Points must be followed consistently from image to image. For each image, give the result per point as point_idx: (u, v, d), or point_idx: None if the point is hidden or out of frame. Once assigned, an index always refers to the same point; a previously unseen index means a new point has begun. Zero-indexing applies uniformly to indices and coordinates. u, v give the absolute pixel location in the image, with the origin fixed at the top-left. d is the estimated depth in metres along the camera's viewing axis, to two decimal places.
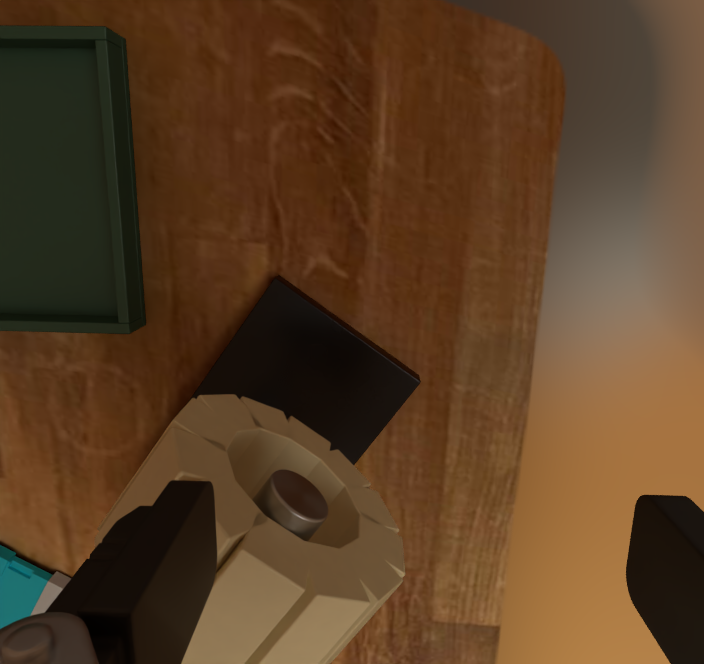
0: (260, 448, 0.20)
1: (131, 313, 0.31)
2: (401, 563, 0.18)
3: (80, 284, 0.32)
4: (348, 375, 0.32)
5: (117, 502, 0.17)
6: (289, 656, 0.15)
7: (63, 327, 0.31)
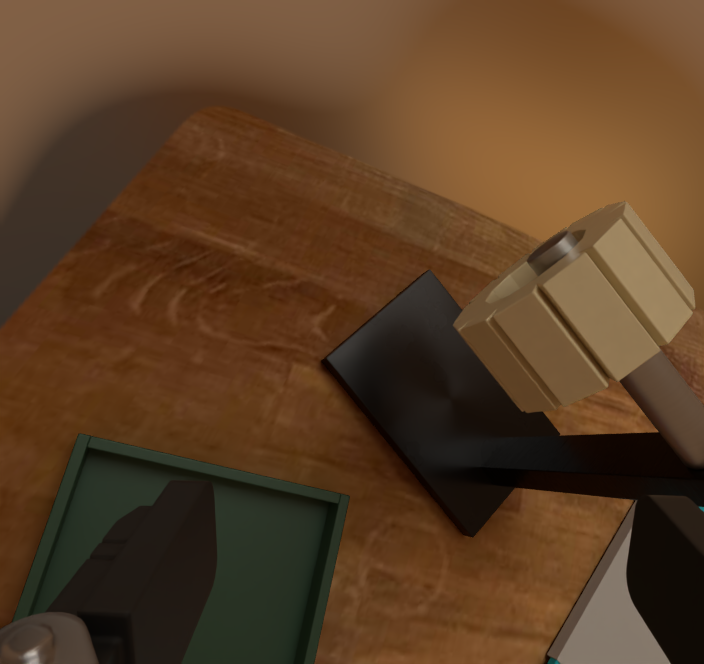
0: None
1: None
2: (594, 212, 0.25)
3: (290, 544, 0.33)
4: (415, 322, 0.38)
5: (538, 384, 0.22)
6: (659, 254, 0.21)
7: (331, 559, 0.32)
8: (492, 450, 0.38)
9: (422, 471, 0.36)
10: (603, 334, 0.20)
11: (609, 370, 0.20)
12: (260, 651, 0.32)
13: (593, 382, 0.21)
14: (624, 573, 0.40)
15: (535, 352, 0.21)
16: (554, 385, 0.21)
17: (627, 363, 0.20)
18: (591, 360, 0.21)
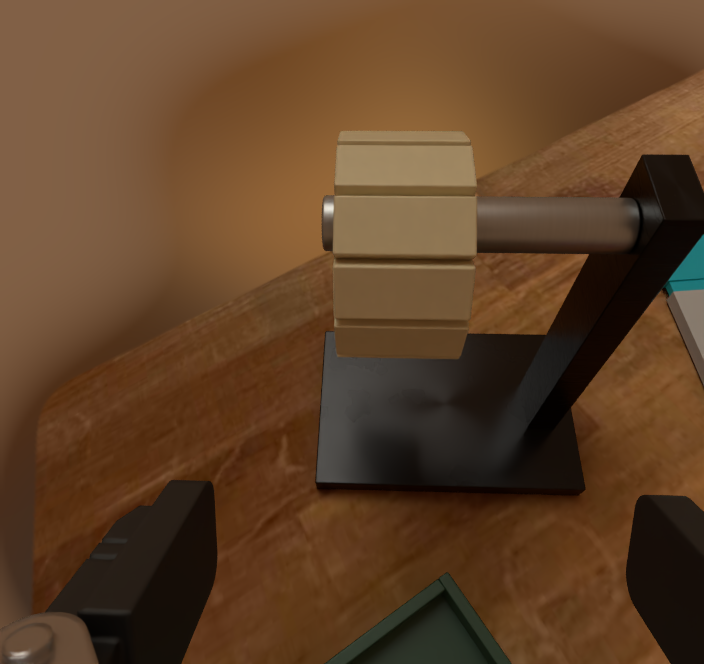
0: None
1: (429, 585, 0.28)
2: None
3: None
4: (355, 379, 0.35)
5: (432, 326, 0.19)
6: (402, 136, 0.20)
7: (491, 644, 0.26)
8: (521, 405, 0.34)
9: (486, 483, 0.31)
10: (421, 235, 0.18)
11: (459, 254, 0.18)
12: None
13: (461, 277, 0.18)
14: None
15: (395, 306, 0.18)
16: (441, 313, 0.18)
17: (465, 234, 0.18)
18: (439, 263, 0.18)
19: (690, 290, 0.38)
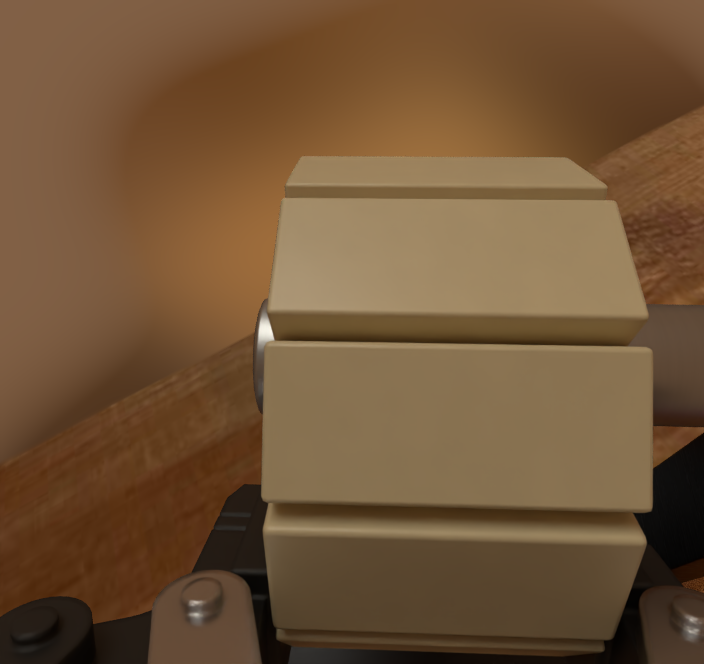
0: None
1: None
2: None
3: None
4: None
5: (514, 643, 0.08)
6: (437, 172, 0.08)
7: None
8: None
9: None
10: (500, 454, 0.06)
11: (606, 507, 0.06)
12: None
13: (606, 560, 0.07)
14: None
15: (426, 613, 0.07)
16: (542, 626, 0.07)
17: (622, 452, 0.06)
18: (546, 517, 0.07)
19: None
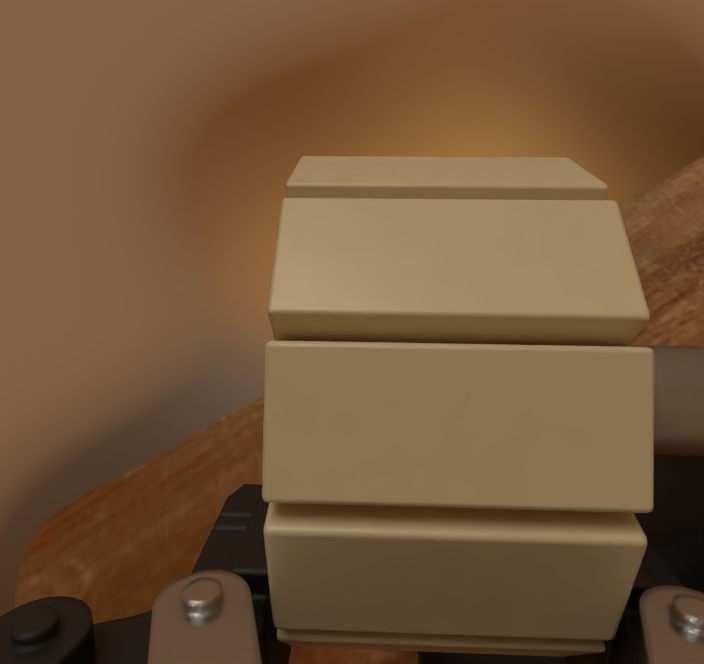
0: None
1: None
2: None
3: None
4: None
5: (515, 644, 0.08)
6: (438, 171, 0.08)
7: None
8: None
9: None
10: (501, 454, 0.06)
11: (606, 508, 0.06)
12: None
13: (606, 561, 0.07)
14: None
15: (427, 613, 0.07)
16: (543, 626, 0.07)
17: (623, 452, 0.06)
18: (547, 517, 0.07)
19: None
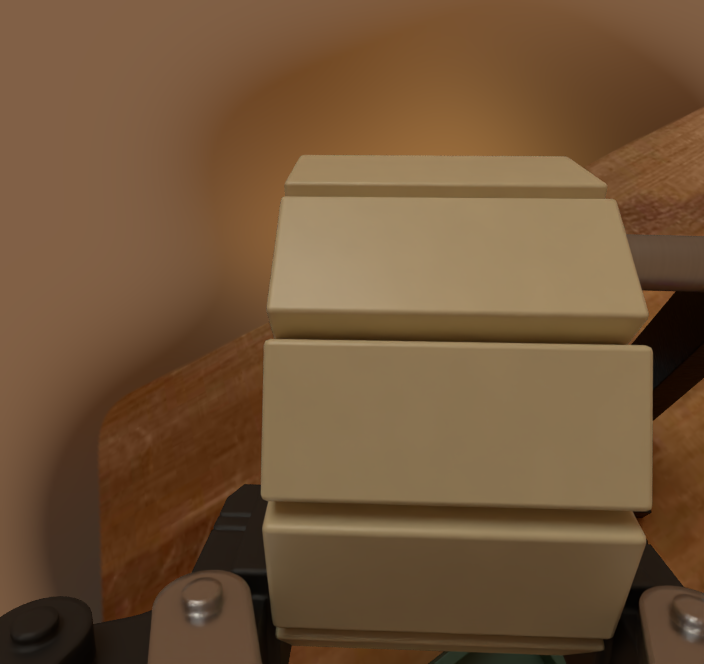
0: None
1: None
2: None
3: None
4: None
5: (514, 642, 0.08)
6: (436, 170, 0.08)
7: None
8: None
9: None
10: (500, 452, 0.06)
11: (605, 506, 0.06)
12: None
13: (605, 559, 0.07)
14: None
15: (426, 611, 0.07)
16: (542, 625, 0.07)
17: (622, 450, 0.06)
18: (546, 516, 0.07)
19: None
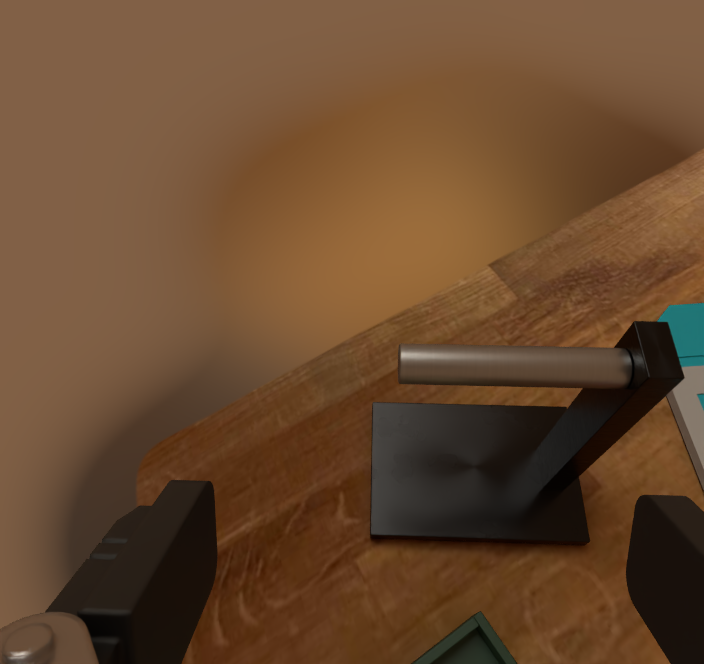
0: None
1: (466, 621, 0.35)
2: None
3: None
4: (399, 445, 0.42)
5: None
6: None
7: None
8: (537, 468, 0.41)
9: (509, 536, 0.39)
10: None
11: None
12: None
13: None
14: None
15: None
16: None
17: None
18: None
19: None
